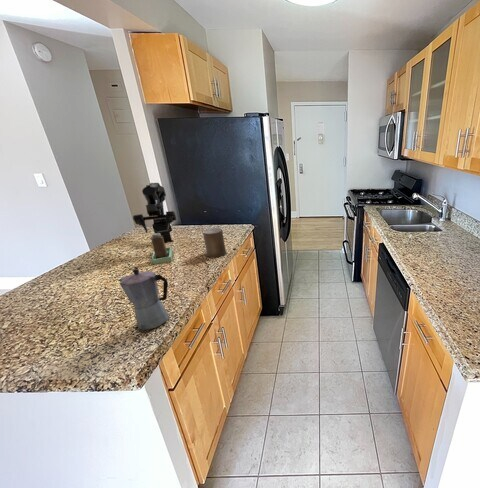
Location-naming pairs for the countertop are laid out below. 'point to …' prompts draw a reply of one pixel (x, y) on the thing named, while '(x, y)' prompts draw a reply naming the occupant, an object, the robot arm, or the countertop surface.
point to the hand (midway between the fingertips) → (157, 231)
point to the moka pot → (146, 298)
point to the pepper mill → (159, 245)
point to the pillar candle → (214, 242)
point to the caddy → (162, 260)
